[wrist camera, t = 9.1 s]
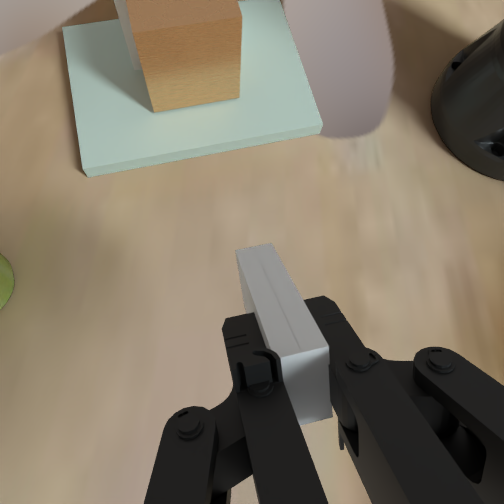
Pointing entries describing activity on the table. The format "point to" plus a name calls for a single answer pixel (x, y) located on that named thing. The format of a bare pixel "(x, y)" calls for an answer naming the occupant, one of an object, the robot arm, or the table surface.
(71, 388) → the table surface
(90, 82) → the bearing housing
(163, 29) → the cardboard box
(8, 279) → the plant pot
